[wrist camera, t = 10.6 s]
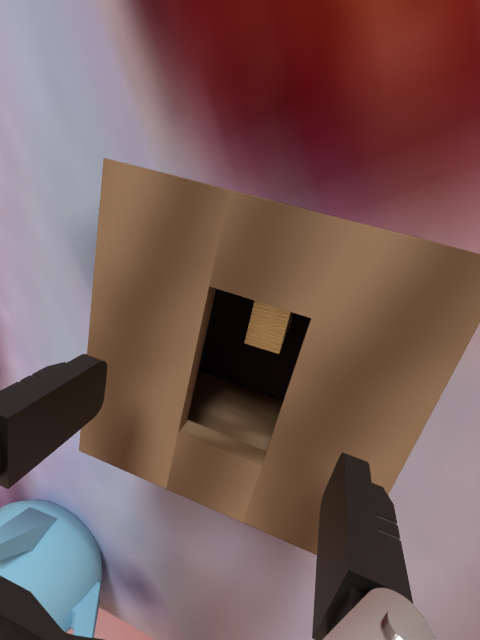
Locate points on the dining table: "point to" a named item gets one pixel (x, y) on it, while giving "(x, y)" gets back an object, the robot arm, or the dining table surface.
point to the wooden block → (268, 327)
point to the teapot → (53, 561)
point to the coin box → (313, 360)
